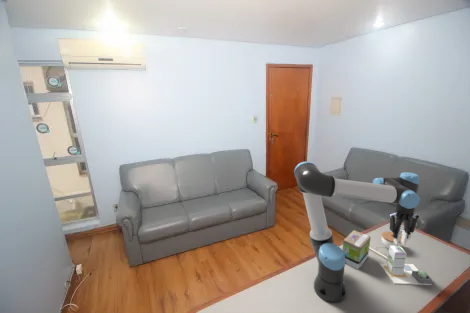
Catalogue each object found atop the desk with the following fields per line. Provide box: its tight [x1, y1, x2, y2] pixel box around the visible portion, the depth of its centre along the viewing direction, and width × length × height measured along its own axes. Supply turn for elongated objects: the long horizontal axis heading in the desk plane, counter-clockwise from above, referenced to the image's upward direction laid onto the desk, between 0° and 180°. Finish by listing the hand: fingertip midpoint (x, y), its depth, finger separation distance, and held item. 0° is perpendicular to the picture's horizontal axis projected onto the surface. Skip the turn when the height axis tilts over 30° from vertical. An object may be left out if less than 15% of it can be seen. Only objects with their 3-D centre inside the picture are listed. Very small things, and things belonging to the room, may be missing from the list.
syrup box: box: [386, 245, 407, 276], centre depth 119 cm, size 6×6×14 cm
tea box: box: [341, 229, 371, 270], centre depth 130 cm, size 15×10×15 cm, turn 131°
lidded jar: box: [381, 231, 403, 250], centre depth 140 cm, size 11×11×9 cm
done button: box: [417, 269, 428, 278], centre depth 114 cm, size 4×4×3 cm
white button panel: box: [379, 263, 433, 286], centre depth 119 cm, size 18×14×3 cm
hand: (399, 243), depth 116 cm, fingers open, 3 cm apart
